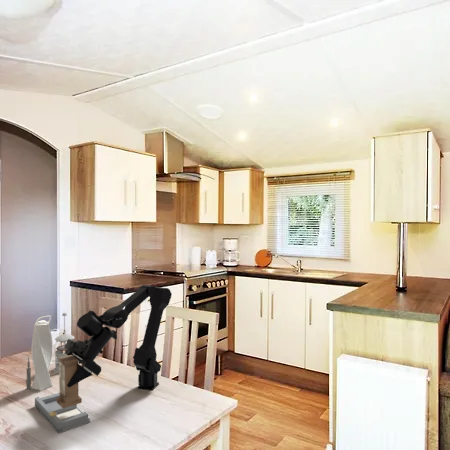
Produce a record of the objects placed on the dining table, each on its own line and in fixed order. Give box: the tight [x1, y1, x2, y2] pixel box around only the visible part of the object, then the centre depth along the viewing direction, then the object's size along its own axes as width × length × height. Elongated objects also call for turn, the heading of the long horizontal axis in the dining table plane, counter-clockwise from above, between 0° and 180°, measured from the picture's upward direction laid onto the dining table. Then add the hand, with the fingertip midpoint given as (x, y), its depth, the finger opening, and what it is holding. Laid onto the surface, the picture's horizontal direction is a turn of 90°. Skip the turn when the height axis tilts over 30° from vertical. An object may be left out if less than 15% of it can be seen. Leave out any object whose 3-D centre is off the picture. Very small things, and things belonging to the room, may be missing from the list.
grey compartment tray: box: [34, 392, 91, 434], centre depth 133 cm, size 24×10×4 cm, turn 41°
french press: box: [52, 312, 75, 374], centre depth 176 cm, size 10×12×25 cm
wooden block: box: [57, 355, 83, 408], centre depth 129 cm, size 6×6×14 cm
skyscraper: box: [25, 314, 53, 394], centre depth 155 cm, size 8×8×28 cm
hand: (64, 383), depth 129 cm, fingers closed on wooden block, 6 cm apart
